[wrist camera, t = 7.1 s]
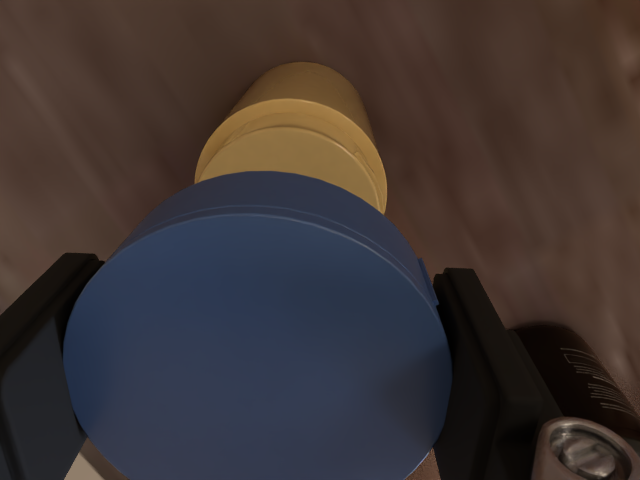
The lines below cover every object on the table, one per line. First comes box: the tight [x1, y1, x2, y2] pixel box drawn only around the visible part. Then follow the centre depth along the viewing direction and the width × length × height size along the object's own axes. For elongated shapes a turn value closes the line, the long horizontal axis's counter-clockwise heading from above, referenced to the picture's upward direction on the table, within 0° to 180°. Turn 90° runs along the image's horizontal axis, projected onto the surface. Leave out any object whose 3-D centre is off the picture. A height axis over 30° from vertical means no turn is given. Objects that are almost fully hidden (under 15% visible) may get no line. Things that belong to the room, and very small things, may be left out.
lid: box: [63, 171, 453, 480], centre depth 10 cm, size 7×7×2 cm
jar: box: [194, 62, 387, 215], centre depth 20 cm, size 6×6×11 cm
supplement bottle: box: [515, 325, 640, 458], centre depth 26 cm, size 7×7×12 cm
